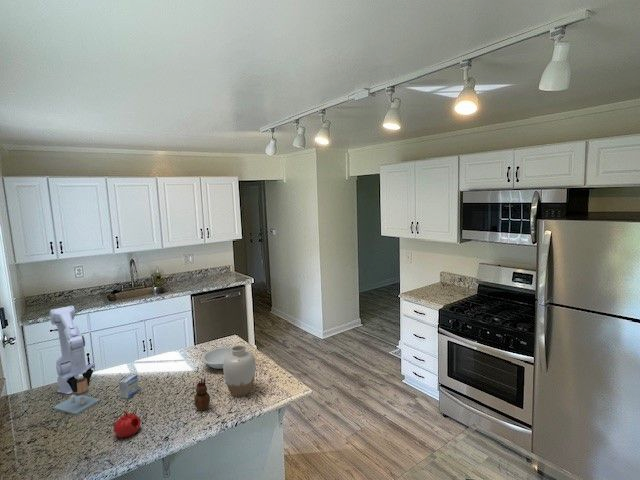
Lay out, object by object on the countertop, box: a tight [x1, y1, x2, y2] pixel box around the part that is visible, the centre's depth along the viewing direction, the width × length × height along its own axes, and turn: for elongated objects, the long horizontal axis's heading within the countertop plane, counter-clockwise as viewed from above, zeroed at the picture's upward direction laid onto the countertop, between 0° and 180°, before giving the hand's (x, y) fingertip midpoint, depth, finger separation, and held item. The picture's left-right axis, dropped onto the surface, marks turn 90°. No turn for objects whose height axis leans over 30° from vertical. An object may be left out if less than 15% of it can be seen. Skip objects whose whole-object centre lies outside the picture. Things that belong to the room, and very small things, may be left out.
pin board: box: [52, 394, 101, 416], centre depth 168 cm, size 16×12×4 cm
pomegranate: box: [113, 410, 142, 438], centre depth 146 cm, size 10×10×9 cm
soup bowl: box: [201, 345, 235, 370], centre depth 205 cm, size 24×24×7 cm
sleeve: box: [73, 377, 90, 396], centre depth 166 cm, size 5×5×6 cm
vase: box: [222, 344, 257, 398], centre depth 175 cm, size 16×16×23 cm
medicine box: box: [118, 374, 140, 399], centre depth 176 cm, size 8×4×9 cm, turn 168°
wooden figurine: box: [193, 377, 211, 411], centre depth 162 cm, size 7×6×15 cm
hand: (80, 388), depth 166 cm, fingers closed on sleeve, 5 cm apart
